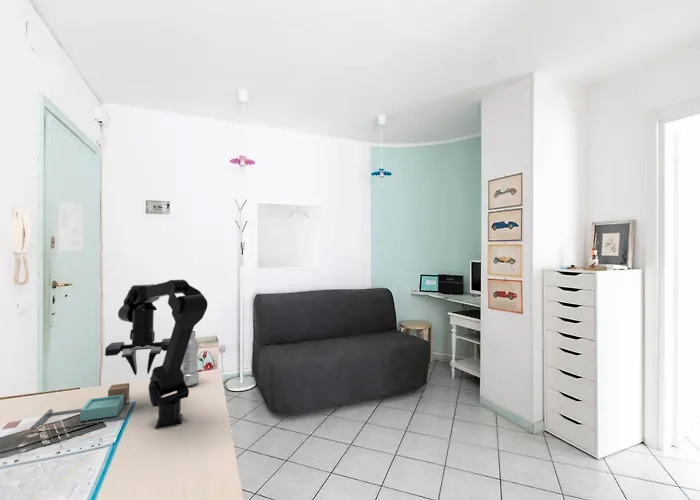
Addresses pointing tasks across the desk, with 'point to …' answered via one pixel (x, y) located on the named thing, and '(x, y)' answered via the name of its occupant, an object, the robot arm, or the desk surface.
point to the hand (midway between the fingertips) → (142, 373)
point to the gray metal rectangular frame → (51, 413)
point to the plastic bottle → (191, 362)
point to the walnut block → (119, 390)
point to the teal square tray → (102, 407)
